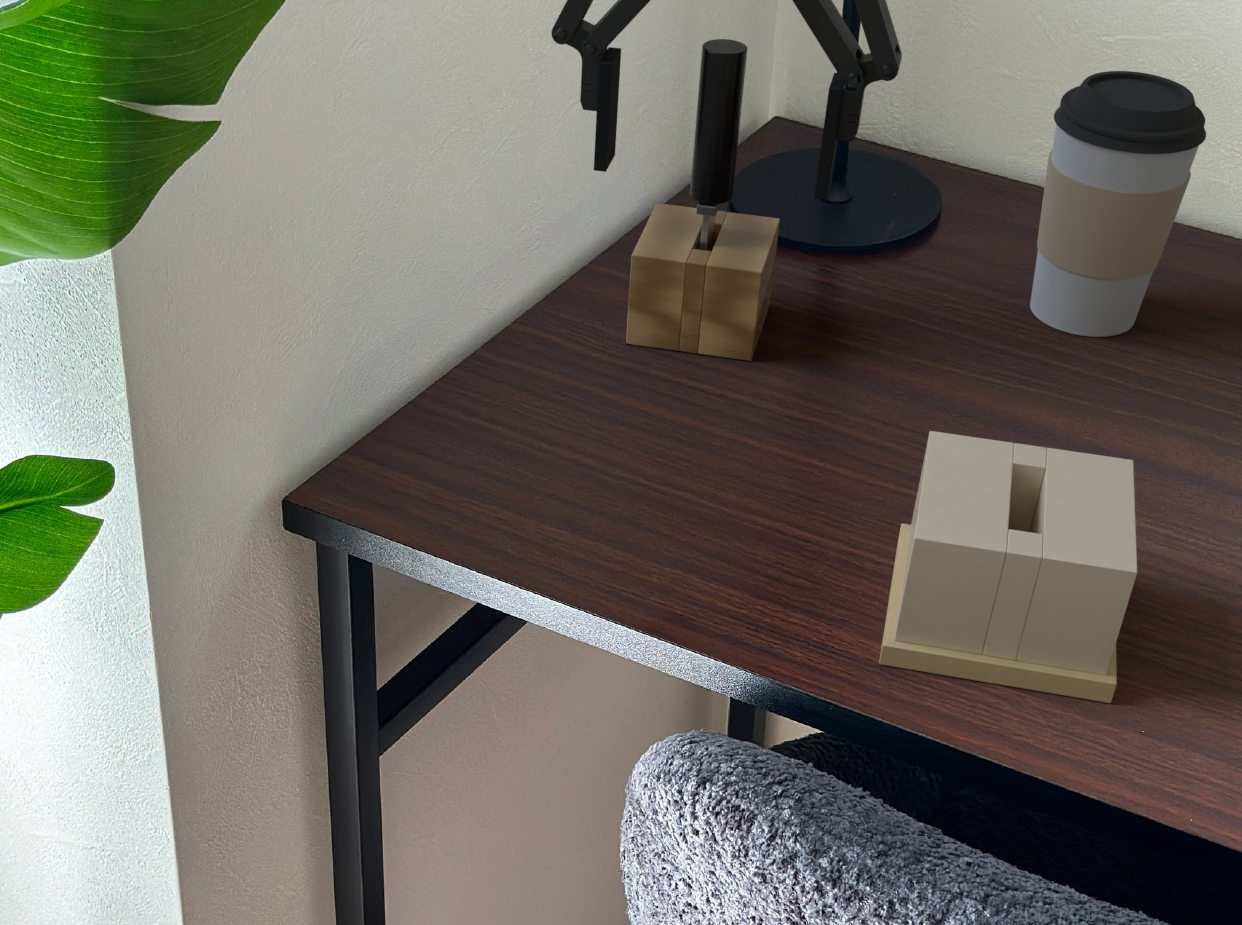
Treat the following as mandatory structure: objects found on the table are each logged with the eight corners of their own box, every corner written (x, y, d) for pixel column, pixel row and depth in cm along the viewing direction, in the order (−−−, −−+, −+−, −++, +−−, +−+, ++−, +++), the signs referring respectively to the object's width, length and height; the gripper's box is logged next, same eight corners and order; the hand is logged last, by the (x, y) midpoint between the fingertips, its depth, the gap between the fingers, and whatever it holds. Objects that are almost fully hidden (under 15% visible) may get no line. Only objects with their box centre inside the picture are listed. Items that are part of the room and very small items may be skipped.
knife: (723, 315, 111) (751, 39, 100) (715, 338, 109) (743, 57, 98) (683, 310, 112) (707, 34, 100) (674, 332, 109) (697, 53, 98)
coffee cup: (1117, 277, 117) (1175, 55, 107) (1177, 340, 110) (1245, 108, 101) (991, 284, 116) (1039, 60, 106) (1044, 348, 109) (1100, 114, 99)
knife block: (769, 304, 113) (780, 218, 109) (751, 361, 107) (762, 271, 103) (650, 288, 114) (656, 202, 110) (625, 344, 108) (631, 254, 104)
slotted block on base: (1109, 574, 90) (1143, 456, 85) (1111, 703, 82) (1149, 580, 77) (897, 541, 92) (920, 423, 87) (878, 664, 83) (902, 541, 79)
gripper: (504, -220, 90) (498, 174, 103) (985, -178, 85) (913, 227, 99) (539, -248, 95) (529, 129, 109) (992, -211, 91) (923, 177, 105)
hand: (712, 176), depth 104 cm, fingers open, 13 cm apart
